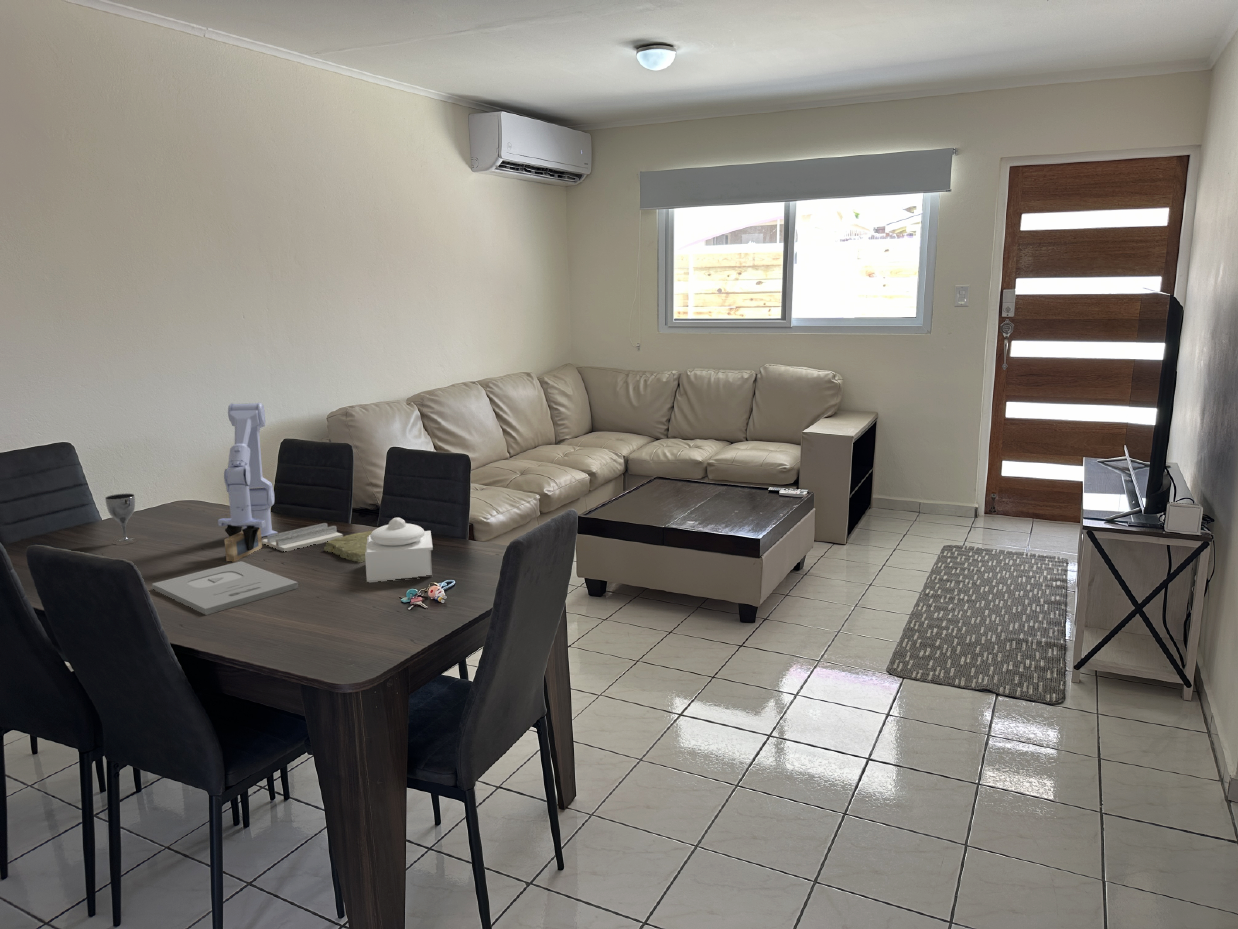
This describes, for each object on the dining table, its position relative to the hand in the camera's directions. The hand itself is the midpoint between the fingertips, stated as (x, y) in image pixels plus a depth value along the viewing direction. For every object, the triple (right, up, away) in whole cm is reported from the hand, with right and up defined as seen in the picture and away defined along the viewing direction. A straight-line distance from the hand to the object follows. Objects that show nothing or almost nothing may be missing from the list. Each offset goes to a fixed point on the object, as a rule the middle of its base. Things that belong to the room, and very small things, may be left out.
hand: (244, 549), depth 255 cm
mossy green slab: (+35, -1, +4) cm, 35 cm away
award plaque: (+8, -8, -30) cm, 32 cm away
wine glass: (-44, +1, +14) cm, 47 cm away
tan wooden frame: (0, -2, 0) cm, 2 cm away
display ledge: (+12, +1, +14) cm, 19 cm away
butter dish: (+51, -5, -15) cm, 54 cm away
